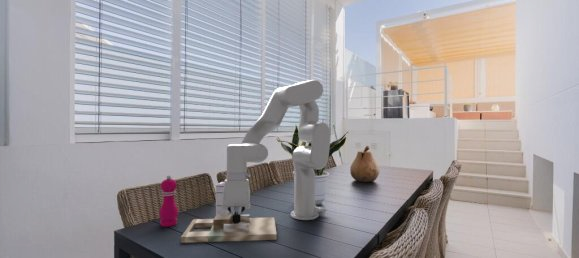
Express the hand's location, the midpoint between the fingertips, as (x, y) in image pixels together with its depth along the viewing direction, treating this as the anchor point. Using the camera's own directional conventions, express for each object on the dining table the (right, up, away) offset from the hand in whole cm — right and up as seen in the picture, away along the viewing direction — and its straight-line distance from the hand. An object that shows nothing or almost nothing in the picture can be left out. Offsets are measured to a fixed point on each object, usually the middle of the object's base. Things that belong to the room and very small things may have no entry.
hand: (236, 224), depth 108 cm
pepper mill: (-29, -3, +7) cm, 30 cm away
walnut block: (-5, -1, 0) cm, 5 cm away
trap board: (-1, -3, 0) cm, 3 cm away
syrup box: (-9, -3, +19) cm, 21 cm away
